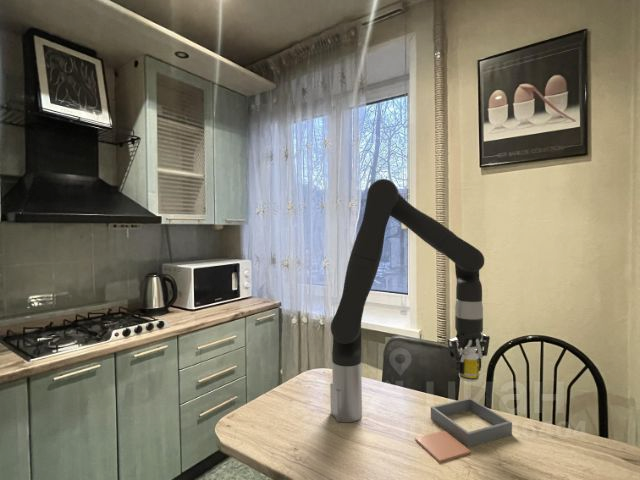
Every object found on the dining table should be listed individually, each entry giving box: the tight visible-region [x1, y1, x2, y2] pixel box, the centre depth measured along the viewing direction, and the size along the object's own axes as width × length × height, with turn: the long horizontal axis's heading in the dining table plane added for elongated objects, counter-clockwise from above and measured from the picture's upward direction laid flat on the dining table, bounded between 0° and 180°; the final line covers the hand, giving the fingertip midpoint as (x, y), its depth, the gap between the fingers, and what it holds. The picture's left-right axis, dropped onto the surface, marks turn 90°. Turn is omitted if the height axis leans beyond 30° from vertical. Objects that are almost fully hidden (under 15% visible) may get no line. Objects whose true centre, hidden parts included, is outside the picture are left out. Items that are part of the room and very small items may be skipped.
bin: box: [430, 397, 513, 448], centre depth 102 cm, size 16×16×4 cm
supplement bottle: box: [458, 346, 480, 383], centre depth 101 cm, size 5×5×10 cm
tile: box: [415, 429, 472, 463], centre depth 92 cm, size 10×10×1 cm
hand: (468, 371), depth 101 cm, fingers closed on supplement bottle, 5 cm apart
